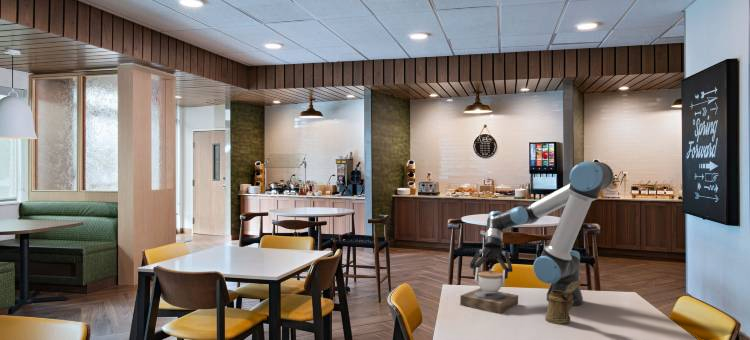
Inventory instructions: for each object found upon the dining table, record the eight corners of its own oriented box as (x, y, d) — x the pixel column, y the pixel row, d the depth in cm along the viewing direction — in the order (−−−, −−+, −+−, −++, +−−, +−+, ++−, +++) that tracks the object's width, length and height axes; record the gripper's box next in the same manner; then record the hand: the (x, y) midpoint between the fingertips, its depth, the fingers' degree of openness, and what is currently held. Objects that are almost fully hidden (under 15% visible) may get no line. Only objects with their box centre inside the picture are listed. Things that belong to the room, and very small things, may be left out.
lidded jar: (476, 293, 213) (477, 271, 213) (477, 287, 224) (477, 266, 224) (503, 295, 211) (503, 273, 211) (502, 289, 221) (502, 267, 221)
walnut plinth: (518, 304, 219) (518, 294, 219) (499, 313, 205) (499, 302, 205) (480, 296, 230) (480, 287, 230) (460, 304, 216) (460, 294, 216)
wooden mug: (568, 329, 187) (569, 280, 187) (540, 318, 199) (541, 273, 198) (584, 326, 191) (586, 278, 191) (556, 316, 203) (557, 271, 203)
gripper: (520, 247, 228) (517, 290, 213) (468, 244, 235) (462, 285, 221) (520, 237, 223) (517, 280, 208) (467, 234, 230) (461, 275, 216)
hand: (489, 283), depth 215 cm, fingers closed on lidded jar, 11 cm apart
